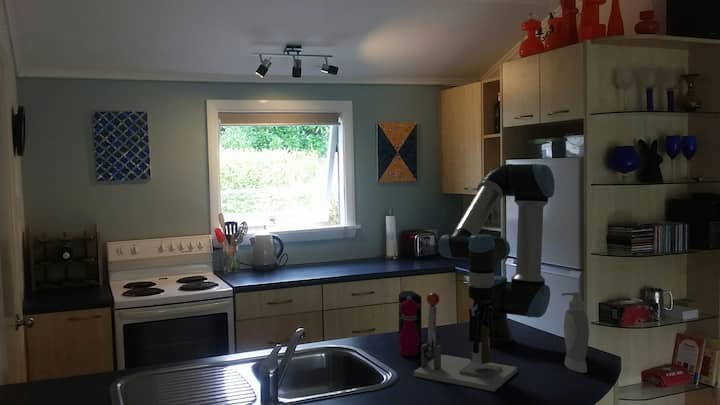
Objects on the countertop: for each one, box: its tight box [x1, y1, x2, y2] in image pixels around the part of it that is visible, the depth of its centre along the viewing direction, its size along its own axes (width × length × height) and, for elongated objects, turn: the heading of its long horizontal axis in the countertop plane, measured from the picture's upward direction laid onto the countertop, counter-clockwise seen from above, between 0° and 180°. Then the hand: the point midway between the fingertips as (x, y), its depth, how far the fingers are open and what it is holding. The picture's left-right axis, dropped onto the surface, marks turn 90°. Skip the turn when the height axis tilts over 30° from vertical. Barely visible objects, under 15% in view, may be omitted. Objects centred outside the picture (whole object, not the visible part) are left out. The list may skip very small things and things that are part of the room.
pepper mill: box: [398, 296, 421, 357], centre depth 223 cm, size 7×7×20 cm
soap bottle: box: [561, 291, 590, 374], centre depth 205 cm, size 13×8×24 cm, turn 13°
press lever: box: [425, 292, 440, 360], centre depth 203 cm, size 4×4×20 cm
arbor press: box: [413, 342, 518, 392], centre depth 201 cm, size 20×26×8 cm
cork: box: [470, 325, 492, 364], centre depth 198 cm, size 6×6×11 cm
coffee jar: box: [398, 290, 423, 345], centre depth 236 cm, size 10×8×19 cm
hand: (480, 359), depth 198 cm, fingers closed on cork, 6 cm apart
